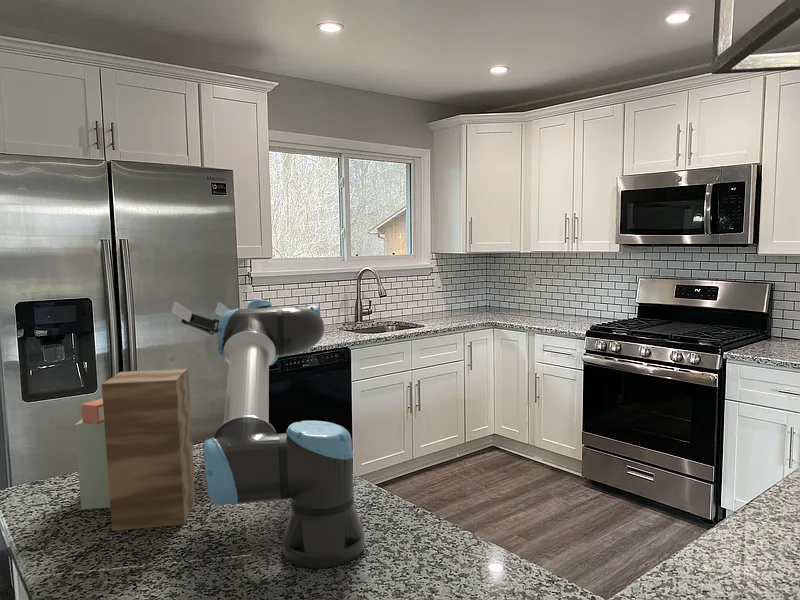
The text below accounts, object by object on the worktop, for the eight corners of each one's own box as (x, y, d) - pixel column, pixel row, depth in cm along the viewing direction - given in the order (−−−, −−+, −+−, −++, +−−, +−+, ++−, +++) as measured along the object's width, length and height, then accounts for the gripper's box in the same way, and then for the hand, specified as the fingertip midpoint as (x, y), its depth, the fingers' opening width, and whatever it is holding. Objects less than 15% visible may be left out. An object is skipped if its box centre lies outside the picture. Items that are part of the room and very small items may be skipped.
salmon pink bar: (156, 397, 151) (155, 382, 151) (171, 399, 149) (170, 383, 149) (82, 422, 131) (81, 404, 130) (98, 424, 129) (96, 405, 129)
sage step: (139, 504, 132) (133, 420, 131) (81, 509, 131) (74, 424, 129) (154, 480, 146) (150, 404, 144) (102, 484, 144) (97, 407, 143)
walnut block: (184, 524, 122) (175, 380, 120) (112, 530, 120) (101, 384, 118) (195, 500, 134) (187, 368, 132) (129, 505, 132) (120, 371, 129)
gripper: (276, 352, 163) (232, 321, 145) (202, 348, 172) (152, 319, 154) (283, 326, 165) (240, 293, 147) (209, 324, 175) (161, 293, 157)
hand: (195, 307), depth 150 cm, fingers open, 13 cm apart
